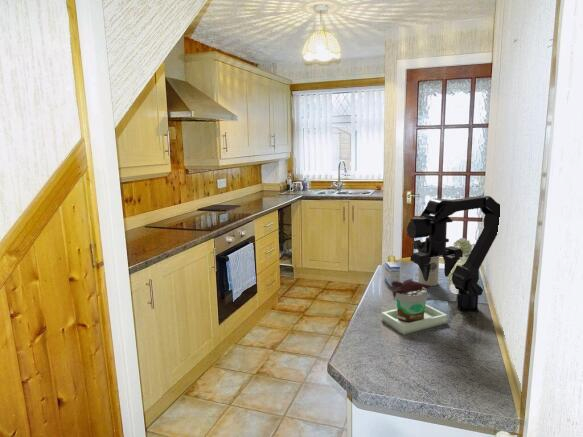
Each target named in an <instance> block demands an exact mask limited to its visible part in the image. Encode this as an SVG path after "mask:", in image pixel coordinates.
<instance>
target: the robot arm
mask: <svg viewBox="0 0 583 437" xmlns="http://www.w3.org/2000/svg"><path fill="white" fill-rule="evenodd" d="M500 205H501V203H499V202H497V201H496V200H495V199H494V198H493V197H492V196H490V195H484V194H480V195H477V196H470V197H469V196H468V197H461V198H455V199H446V198H431V199H429V200H428V202H427V205H426V207H425V208H424V209H423V211H422V213H421V214H420V215H419V217H417V218H416V217H411V218H410V221H409V222H408V225H407V227H406V233H407V236H408V237H409V238H410V239H418V240H413V244H412V246H413V249H414V250H417V252H412V253H411V255H410V262H412V263H414V264H417V265H418V268H419V267H420V269H421V272H422V275H423V278H424V280H425V281H427V280H428V277H429V272H430V268H431V264H429V263H430V261H431V259H433V258H438V257H439V258H442V259H443V260H444V269H443V270H444V277H446V278H447V277H449V275H450V273H451V272H452V270H453V269H454V270H453V272H452V273H451V282H452V284H453V285H454V289H456V290H458V291H457V294H456V298H455V299H456V300H455V304H456V307H457V308H458V310H459V311H461V312H479V310H480V309H479V308H478V306H479V305H478V304H479V296H482V295H483V291H484V289H483V287H481V286H480V285H479V284H478V282H479V279H480V272H479V271H480V268H481V266H482V265H483V262H484V260H485V258H486V256H487V255H488V252H489V251H490V249H491V247H492V245H493V243H494V241H495V240H496V238H497V236H498V234H497V232H498V225H499V217H500ZM476 209H480V211H481V213H482V214H483V215H484V217H483V228H482V231H481V232H480V233H479V236H478V238H477V240H476V242H475V243H474V246H473V247H472V250H471V251H470V253H469V255H468V257H467V259H466V260H465V262H464V263H463V264H461V265H459V264H457V263H458V261H460V260H461V258H463V256H464V251H463V250H462V249H461V248H460V247H456V246H453V245H452V246H450V245H449V246H447V243H450V239H449V238H447V231H448V229H447V227H448V225H447V223H452V222H453V219H452V218H451V217H450V216H453V215H454V214H455V213H457V212H462V211H463V212H464V211H468V210H470V211H471V210H476ZM420 238H421V239H422V238H425V240H424V241H425V242H421V239H420ZM422 250H424V252H428V253H429V254H425V253H422V252H420V251H422ZM433 255H434V256H433ZM455 265H456V266H455ZM454 267H455V268H454Z"/></svg>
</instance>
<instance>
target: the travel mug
mask: <svg viewBox="0 0 583 437" xmlns="http://www.w3.org/2000/svg"><path fill="white" fill-rule="evenodd" d="M420 241H421V240H420ZM425 241H426V240H422V241H421V242H425ZM420 252H422V253H425V254H429V253H428V252H424V250H422V251H420ZM433 256H434V255H433ZM439 260H440V257H438V258H433V259H431V261H430V263H429V264H431V268H430V272H429V277H428V280H427V281H425V280H424V278H423V275H422V272H421V269H420V267H419V266H418V281H417V282H418V283H422V284H426V285H430V286H431V287H435V286H437V285H438V284H439V267H440V266H439V263H440V262H439Z"/></svg>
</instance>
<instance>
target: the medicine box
mask: <svg viewBox="0 0 583 437" xmlns="http://www.w3.org/2000/svg"><path fill="white" fill-rule="evenodd" d="M384 281H385V283H386V284H387V285H388V286H389V287H394V286H393V285H392V282H393V281H398V282H401V266H400V265H399V264H398V263H396V262H395V261H385V262H384Z"/></svg>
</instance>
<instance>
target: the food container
mask: <svg viewBox="0 0 583 437" xmlns="http://www.w3.org/2000/svg"><path fill="white" fill-rule="evenodd" d="M394 296H395V297H394V299H395V300H396V309H397V310H398V320H400V321H403V322H407V323H411V322H415V321H419V320H423V319H424V311H425V304H426V300H428V299H429V294H428V289H425V288H424V287H422V289H421V290H417V291H409V292H406V293H402V294H399V293H396V295H394Z"/></svg>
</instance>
